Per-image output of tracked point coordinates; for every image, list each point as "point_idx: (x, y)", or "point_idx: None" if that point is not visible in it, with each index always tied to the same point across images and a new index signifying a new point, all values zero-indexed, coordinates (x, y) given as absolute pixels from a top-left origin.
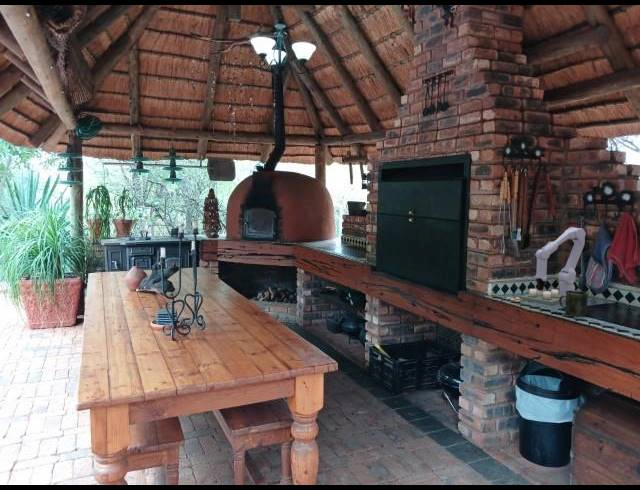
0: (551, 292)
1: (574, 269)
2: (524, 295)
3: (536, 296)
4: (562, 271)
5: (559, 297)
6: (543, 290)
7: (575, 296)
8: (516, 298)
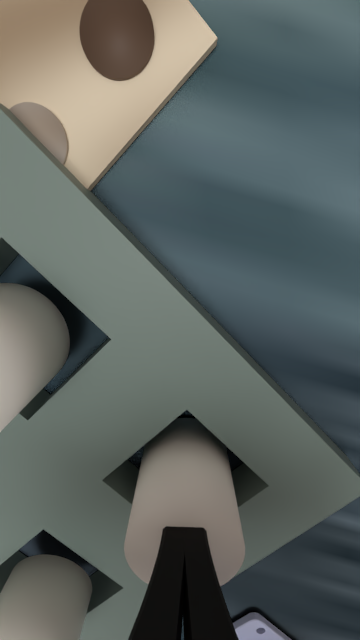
0: (5, 636)
1: None
2: (89, 221)
3: (51, 397)
4: None
5: None
6: None
7: None
8: (35, 61)
